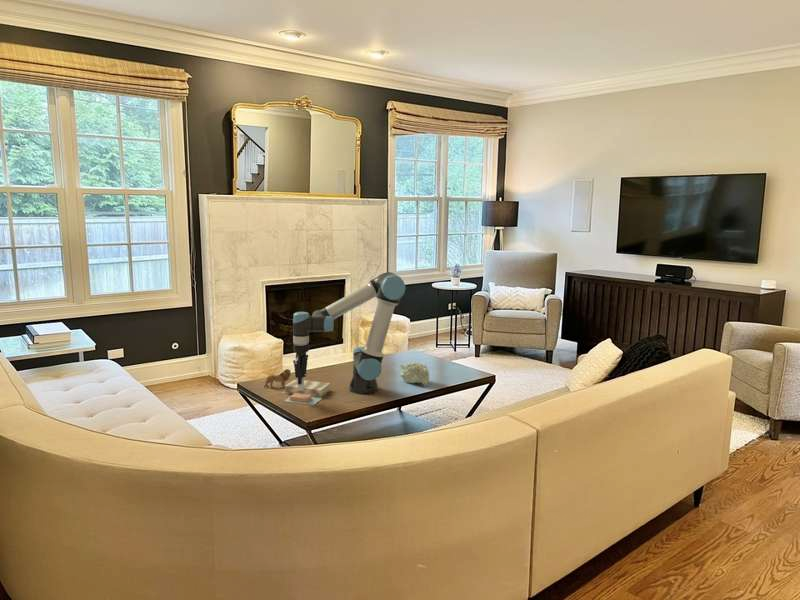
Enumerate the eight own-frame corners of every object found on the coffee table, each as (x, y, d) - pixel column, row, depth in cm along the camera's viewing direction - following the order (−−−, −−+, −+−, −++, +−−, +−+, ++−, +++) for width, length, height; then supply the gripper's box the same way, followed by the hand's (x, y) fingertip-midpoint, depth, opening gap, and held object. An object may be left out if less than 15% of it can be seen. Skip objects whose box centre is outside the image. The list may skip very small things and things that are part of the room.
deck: (329, 390, 305) (330, 383, 304) (321, 397, 293) (321, 390, 293) (294, 386, 310) (294, 379, 309) (284, 393, 298) (284, 385, 297)
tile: (306, 398, 284) (306, 402, 285) (311, 394, 290) (311, 398, 290) (289, 396, 287) (289, 400, 287) (294, 392, 292) (294, 396, 293)
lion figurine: (289, 383, 315) (289, 367, 313) (292, 386, 310) (292, 370, 308) (262, 386, 308) (262, 370, 306) (265, 389, 303) (264, 373, 301)
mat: (322, 398, 293) (322, 397, 292) (314, 405, 282) (314, 404, 282) (293, 394, 296) (293, 394, 296) (283, 401, 286) (283, 401, 286)
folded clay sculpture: (405, 393, 325) (394, 368, 326) (423, 384, 331) (412, 359, 332) (420, 389, 309) (408, 363, 310) (439, 380, 316) (427, 354, 317)
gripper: (299, 340, 291) (299, 385, 295) (288, 346, 278) (288, 393, 282) (313, 341, 289) (313, 386, 293) (302, 347, 277) (302, 394, 280)
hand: (300, 389), depth 288 cm, fingers closed
